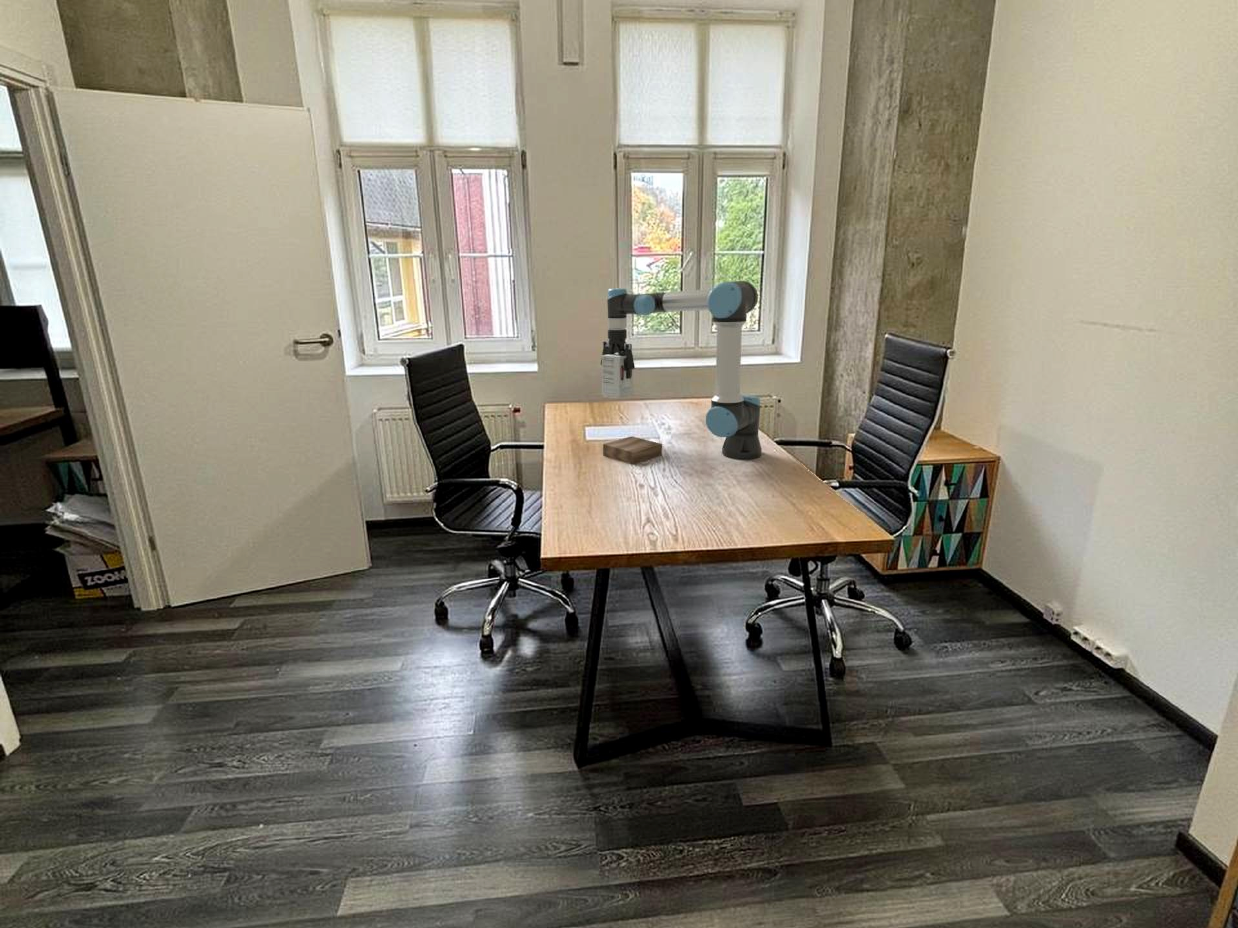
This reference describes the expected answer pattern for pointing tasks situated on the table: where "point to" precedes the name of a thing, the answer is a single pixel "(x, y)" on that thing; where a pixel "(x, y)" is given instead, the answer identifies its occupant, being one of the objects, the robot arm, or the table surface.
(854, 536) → the table surface
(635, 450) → the walnut block
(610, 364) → the supplement box
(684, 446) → the table surface
